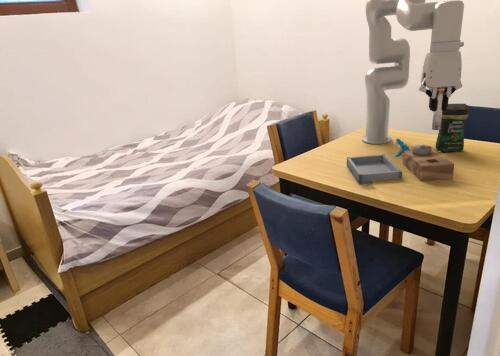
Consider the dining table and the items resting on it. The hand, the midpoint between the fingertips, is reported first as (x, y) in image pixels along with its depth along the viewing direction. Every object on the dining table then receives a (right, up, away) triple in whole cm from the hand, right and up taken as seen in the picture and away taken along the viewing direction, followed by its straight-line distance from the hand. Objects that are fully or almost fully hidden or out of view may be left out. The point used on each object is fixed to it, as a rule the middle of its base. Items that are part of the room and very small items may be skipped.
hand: (437, 109), depth 113 cm
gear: (+2, -13, +28) cm, 31 cm away
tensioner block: (+2, -20, +12) cm, 23 cm away
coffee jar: (+20, -11, +31) cm, 38 cm away
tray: (-15, -19, +17) cm, 30 cm away
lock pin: (+1, -6, +2) cm, 6 cm away
